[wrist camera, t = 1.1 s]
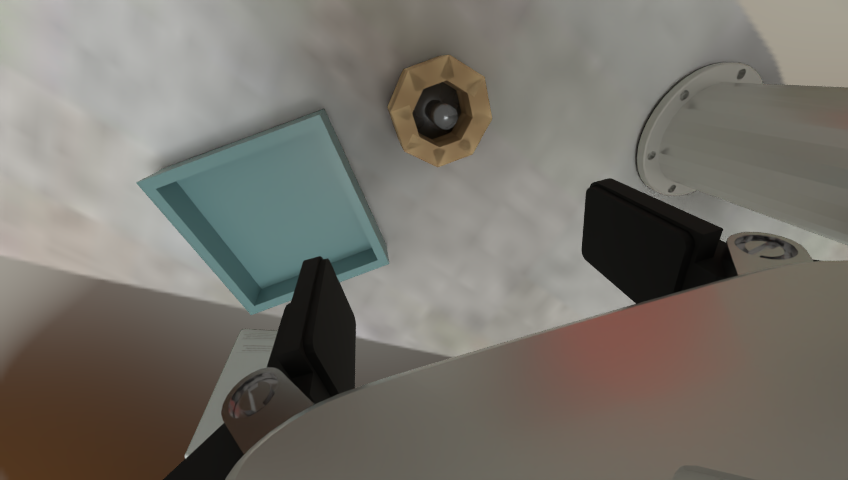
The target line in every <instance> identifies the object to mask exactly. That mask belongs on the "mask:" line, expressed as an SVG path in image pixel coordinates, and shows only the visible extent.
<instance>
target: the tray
mask: <svg viewBox="0 0 848 480" xmlns="http://www.w3.org/2000/svg"><path fill="white" fill-rule="evenodd" d="M137 184H138V185H139V187H140V188H141V189H142V190H143V191H144V192H145V193H146V195H147V196H148V197H149V198H150V199H151V200H152V201H153V203H154V204H155V205H156V206H157V207H158V208H159V210H160V211H161V212H162V213H163V214H164V215H165V216H166V218H167V219H168V220H169V221H170V222H171V223H172V225H173V226H174V227H175V228H176V229H177V230H178V231H179V233H180V234H181V235H182V236H183V237H184V238H185V239H186V241H187V242H188V243H189V244H190V245H191V246H192V248H193V249H194V250H195V251H196V252H197V253H198V254H199V256H200V257H201V258H202V259H203V260H204V261H205V263H206V264H207V265H208V266H209V267H210V268H211V269H212V271H213V272H214V273H215V274H216V275H217V276H218V277H219V279H220V280H221V281H222V282H223V283H224V284H225V286H226V287H227V288H228V289H229V290H230V291H231V292H232V294H233V295H234V296H235V297H236V298H237V299H238V300H239V302H240V303H241V304H242V305H243V306H244V307H245V309H246V310H247V311H248V312H249V313H250V314H251V315H252V314H255V313H258V312H261V311H264V310H266V309H269V308H272V307H274V306H277V305H280V304H282V303H285V302H288V301H290V300H292V297H293V294H294V290H295V287H296V284H297V280H298V277H299V273H300V270H301V267H302V263H303V261H304V260H307V259H311V258H315V257H318V256H321V257H322V258H323V259H327V258H328V259H329V260H330V262H331V265H332V267H333V269H334V271H335V274H336V276H337V278H338V280H339V282H342V281H344V280H347V279H350V278H352V277H355V276H358V275H360V274H363V273H366V272H368V271H371V270H374V269H376V268H379V267H382V266H385V265H387V264H389V259H388V252H387V246H386V244H385V241H384V239H383V237H382V235H381V233H380V230H379V228H378V226H377V224H376V222H375V219H374V217H373V215H372V213H371V211H370V208H369V206H368V204H367V202H366V200H365V197H364V195H363V193H362V191H361V189H360V186H359V184H358V182H357V180H356V178H355V175H354V173H353V171H352V169H351V167H350V164H349V162H348V160H347V158H346V156H345V153H344V151H343V149H342V147H341V145H340V143H339V140H338V138H337V136H336V134H335V132H334V129H333V127H332V125H331V123H330V121H329V118H328V116H327V114H326V112H325V110H324V109H322V110H320V111H317V112H314V113H312V114H309V115H306V116H304V117H301V118H298V119H296V120H293V121H290V122H287V123H285V124H282V125H279V126H277V127H274V128H271V129H269V130H266V131H263V132H261V133H258V134H255V135H252V136H250V137H247V138H244V139H242V140H239V141H236V142H234V143H231V144H228V145H226V146H223V147H220V148H218V149H215V150H212V151H209V152H207V153H204V154H201V155H199V156H196V157H193V158H191V159H188V160H185V161H183V162H180V163H177V164H174V165H172V166H169V167H166V168H164V169H161V170H159V171H158V172H156V173H154V174H152V175H150V176H148V177H146V178H144V179H142V180H140V181H138V182H137Z"/></svg>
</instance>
